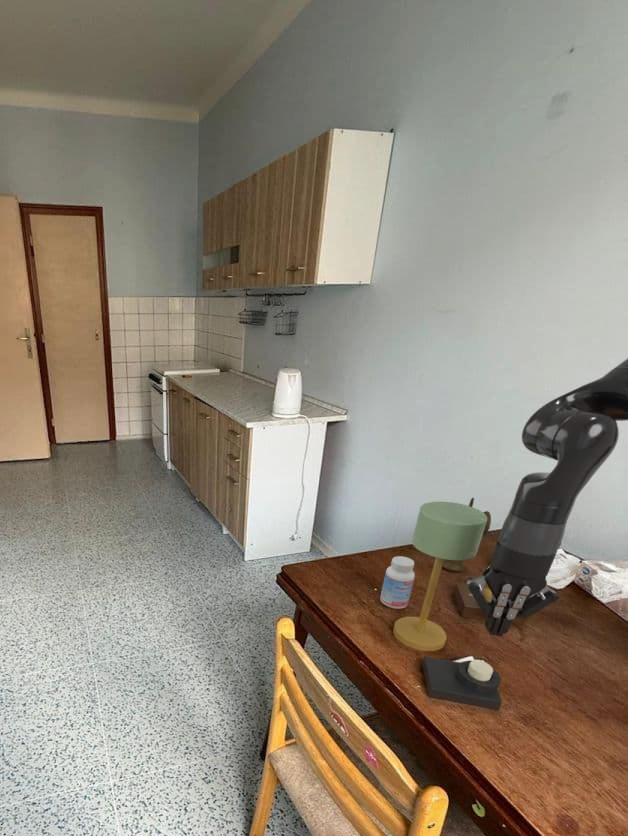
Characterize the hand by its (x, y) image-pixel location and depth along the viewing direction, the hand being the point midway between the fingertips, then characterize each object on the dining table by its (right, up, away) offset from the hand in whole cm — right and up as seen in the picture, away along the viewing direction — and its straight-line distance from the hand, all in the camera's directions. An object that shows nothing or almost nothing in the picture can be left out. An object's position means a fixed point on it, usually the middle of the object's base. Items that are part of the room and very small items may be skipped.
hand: (494, 632), depth 80 cm
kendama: (+19, +9, +44) cm, 49 cm away
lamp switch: (0, -8, +4) cm, 9 cm away
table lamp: (-3, -4, +20) cm, 21 cm away
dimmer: (+17, +1, +28) cm, 33 cm away
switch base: (-2, -11, +7) cm, 13 cm away
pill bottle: (-3, +2, +31) cm, 31 cm away
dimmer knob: (+17, +3, +27) cm, 32 cm away
